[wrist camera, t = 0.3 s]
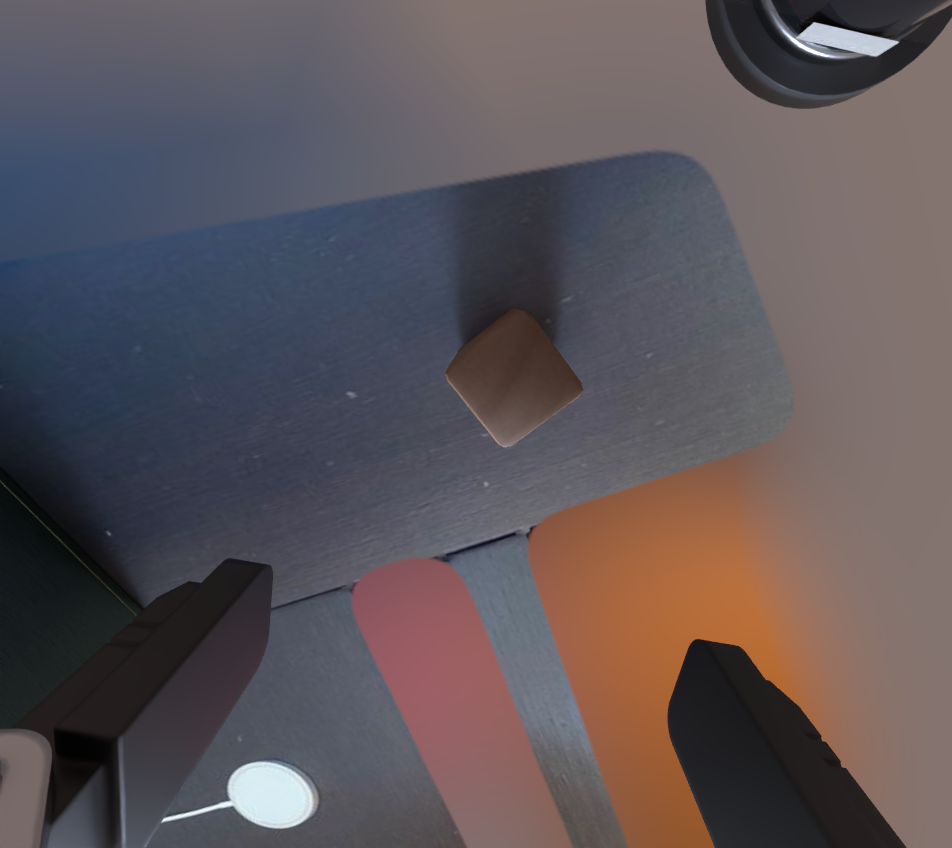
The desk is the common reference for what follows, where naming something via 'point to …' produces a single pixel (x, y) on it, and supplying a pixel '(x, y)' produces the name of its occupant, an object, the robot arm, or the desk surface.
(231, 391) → the desk surface
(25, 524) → the waste bin
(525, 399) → the wooden block
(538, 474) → the desk surface
